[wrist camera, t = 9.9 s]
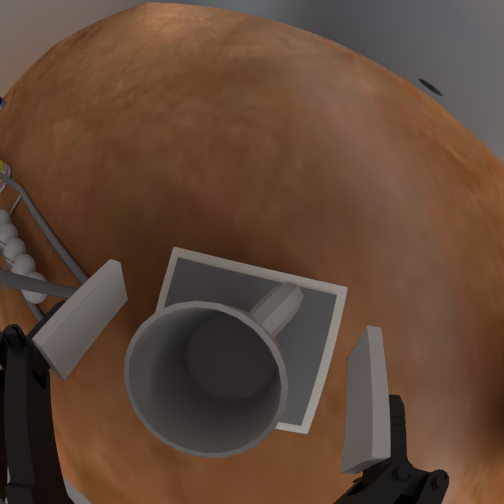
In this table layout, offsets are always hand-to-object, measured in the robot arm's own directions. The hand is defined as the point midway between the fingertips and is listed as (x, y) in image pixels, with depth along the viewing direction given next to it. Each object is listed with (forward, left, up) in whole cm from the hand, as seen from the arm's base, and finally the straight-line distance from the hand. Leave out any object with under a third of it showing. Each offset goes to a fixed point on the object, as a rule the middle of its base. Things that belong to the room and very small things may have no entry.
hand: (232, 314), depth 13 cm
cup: (0, +2, -6) cm, 7 cm away
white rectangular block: (0, +2, -13) cm, 13 cm away
